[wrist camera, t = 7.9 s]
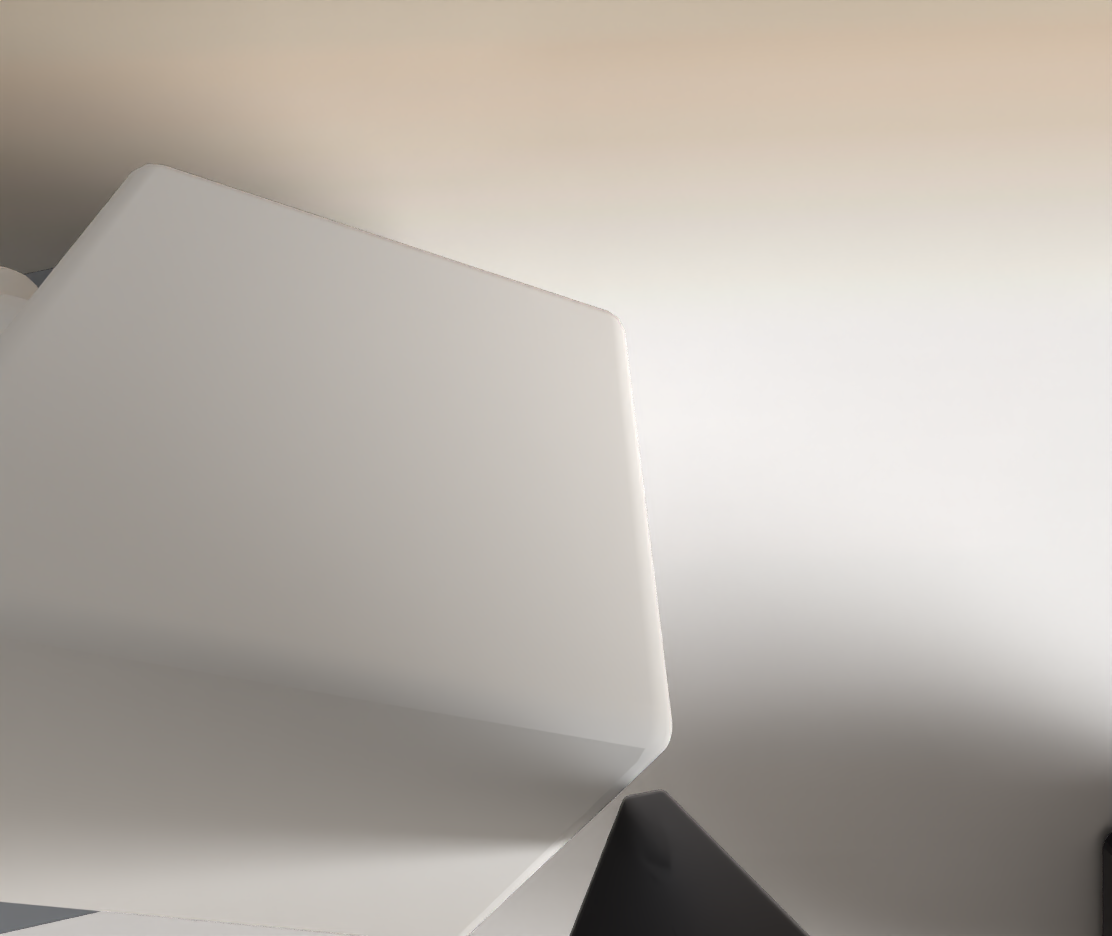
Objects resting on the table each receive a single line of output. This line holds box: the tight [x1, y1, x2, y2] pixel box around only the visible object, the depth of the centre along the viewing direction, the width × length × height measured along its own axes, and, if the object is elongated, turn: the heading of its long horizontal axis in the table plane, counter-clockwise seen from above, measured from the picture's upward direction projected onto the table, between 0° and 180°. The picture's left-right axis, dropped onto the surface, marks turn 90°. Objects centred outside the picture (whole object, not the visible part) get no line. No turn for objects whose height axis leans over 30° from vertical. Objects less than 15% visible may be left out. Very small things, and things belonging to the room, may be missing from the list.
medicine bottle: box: [0, 164, 672, 936], centre depth 11 cm, size 7×7×12 cm
